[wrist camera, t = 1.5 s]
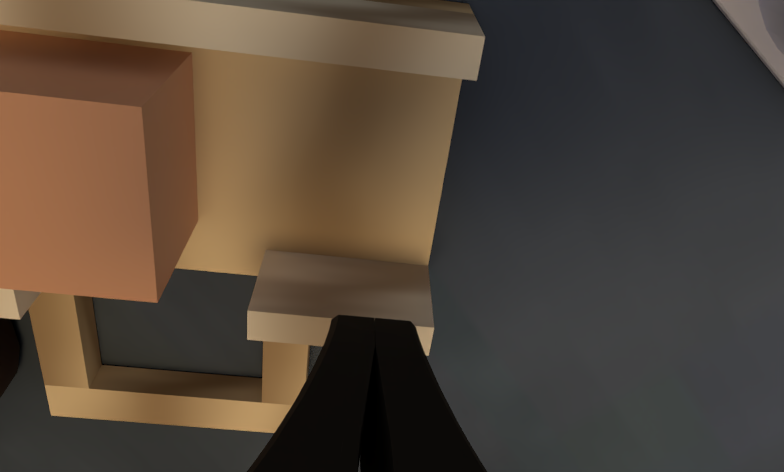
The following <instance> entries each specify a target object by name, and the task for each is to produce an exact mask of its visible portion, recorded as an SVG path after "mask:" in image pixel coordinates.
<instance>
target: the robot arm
mask: <svg viewBox="0 0 784 472" xmlns="http://www.w3.org/2000/svg"><path fill="white" fill-rule="evenodd" d="M712 1H713V2H714V3H715V4H716V6H717V7H718V8H719V9H720V11H721V12H722V13H723V14H724V15H725V17H726V18H727V19H728V20H729V22H730V23H731V24H732V25H733V26H734V28H735V29H736V30H737V31H738V33H739V34H740V35H741V36H742V37H743V39H744V40H745V41H746V42H747V44H748V45H749V46H750V47H751V48H752V50H753V51H754V52H755V53H756V55H757V56H758V57H759V58H760V59H761V61H762V62H763V63H764V64H765V66H766V67H767V68H768V69H769V70H770V72H771V73H772V74H773V75H774V77H775V78H776V79H777V80H778V81H779V83H780V84H781V85H782V86H783V88H784V0H712ZM359 460H360V470H361V472H487V471H486V469H485V468H484V466H483V465H482V463H481V461H480V460H479V458H478V456H477V455H476V453H475V451H474V450H473V448H472V446H471V445H470V443H469V441H468V440H467V438H466V436H465V434H464V433H463V431H462V429H461V427H460V425H459V424H458V422H457V420H456V418H455V416H454V414H453V412H452V410H451V408H450V406H449V404H448V403H447V401H446V399H445V397H444V395H443V393H442V391H441V389H440V387H439V384H438V382H437V380H436V378H435V376H434V374H433V371H432V369H431V367H430V364H429V362H428V360H427V357H426V355H425V352H424V350H423V347H422V345H421V342H420V339H419V336H418V333H417V329H416V327H415V326H414V324H413V323H412V322H411V321H406V320H395V319H383V318H375V320H374V318H372V317H361V316H349V315H337V316H336V317H334V318H333V319H331V324H330V328H329V331H328V334H327V337H326V340H325V342H324V345H323V347H322V350H321V352H320V354H319V356H318V358H317V361H316V363H315V365H314V367H313V369H312V371H311V373H310V374H309V376H308V378H307V380H306V382H305V384H304V385H303V387H302V389H301V391H300V393H299V395H298V396H297V398H296V400H295V402H294V403H293V405H292V407H291V408H290V410H289V411H288V413H287V414H286V416H285V417H284V419H283V421H282V422H281V424H280V425H279V427H278V428H277V430H276V431H275V433H274V434H273V436H272V438H271V439H270V441H269V442H268V444H267V445H266V446H265V448H264V449H263V451H262V452H261V453H260V455H259V456H258V458H257V459H256V460H255V462H254V463H253V464H252V466H251V467H250V468H249V470H248V471H247V472H358V466H359Z"/></svg>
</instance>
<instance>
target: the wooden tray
mask: <svg viewBox="0 0 784 472" xmlns="http://www.w3.org/2000/svg"><path fill="white" fill-rule="evenodd" d="M0 30H5V31H14V32H22V33H31V34H39V35H48V36H56V37H65V38H73V39H82V40H90V41H99V42H107V43H116V44H124V45H133V46H141V47H149V48H158V49H166V50H175V51H183V52H192V66H193V93H194V119H195V146H196V172H197V199H198V222H197V224H196V226H195V228H194V230H193V232H192V234H191V236H190V238H189V240H188V242H187V244H186V246H185V248H184V250H183V252H182V255H181V257H180V259H179V261H178V263H177V265H176V267H175V268H180V269H190V270H201V271H211V272H222V273H233V274H243V275H254V276H258V277H257V280H256V284H255V287H254V290H253V294H252V297H251V301H250V304H249V307H248V311H247V340H257V341H263V372H262V378H251V377H239V376H227V375H215V374H203V373H191V372H179V371H168V370H156V369H144V368H132V367H120V366H108V365H102V363H101V356H100V349H99V343H98V336H97V329H96V322H95V315H94V308H93V302H92V297H89V296H78V295H67V294H56V293H45V292H34V291H23V290H12V289H1V288H0V318H7V319H19V320H20V319H21V318H22V316H23V315H24V314H25V313H26V311H27V310H28V309H29V313H30V318H31V323H32V327H33V332H34V337H35V342H36V346H37V351H38V356H39V360H40V365H41V370H42V375H43V379H44V384H45V389H46V394H47V398H48V403H49V408H50V412H51V416H64V417H77V418H90V419H102V420H115V421H128V422H141V423H153V424H166V425H179V426H192V427H204V428H217V429H230V430H242V431H255V432H268V433H275V431H276V430H277V428H278V427H279V425H280V424H281V422H282V421H283V419H284V417H285V416H286V414H287V413H288V411H289V410H290V408H291V407H292V405H293V403H294V402H295V400H296V398H297V396H298V395H299V393H300V391H301V389H302V387H303V385H304V384H305V382H306V380H307V378H308V368H309V355H310V345H314V346H323V345H324V342H325V340H326V337H327V334H328V331H329V328H330V324H331V319H333V318H334V317H336V316H337V315H349V316H361V317H372V318H374V320H375V318H383V319H395V320H406V321H411V322H412V323H413V324H414V326H415V327H416V329H417V333H418V336H419V339H420V342H421V345H422V347H423V350H424V352H425V355H427V356H429V351H430V346H431V341H432V336H433V331H434V321H433V311H432V301H431V290H430V280H429V270H428V263H429V258H430V252H431V247H432V241H433V236H434V230H435V225H436V219H437V214H438V208H439V203H440V197H441V192H442V186H443V181H444V175H445V170H446V164H447V159H448V153H449V148H450V142H451V137H452V131H453V126H454V120H455V115H456V109H457V104H458V98H459V93H460V87H461V82H462V79H465V80H474V81H477V77H478V72H479V67H480V61H481V56H482V51H483V46H484V41H485V35H484V33H483V31H482V29H481V27H480V25H479V23H478V21H477V19H476V17H475V15H474V13H473V11H472V9H471V7H470V5H469V4H467V3H459V2H451V1H443V0H0Z"/></svg>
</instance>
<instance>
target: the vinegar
mask: <svg viewBox="0 0 784 472" xmlns="http://www.w3.org/2000/svg"><path fill="white" fill-rule="evenodd" d="M19 352H20V344H19V341H18V339H17V336H16V333H15V330H14V327H13V324H12V322H11V321H10V319H7V318H0V397H1V396H2V394H3V393H4V391H5V390H6V389H7V387H8V385H9V384H10V382H11V381H12V379H13V377H14V376H15V374H16V373H17V370H18V365H19Z"/></svg>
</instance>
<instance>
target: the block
mask: <svg viewBox="0 0 784 472" xmlns="http://www.w3.org/2000/svg"><path fill="white" fill-rule="evenodd" d="M197 222H198V199H197V172H196V146H195V119H194V93H193V66H192V52H183V51H175V50H166V49H158V48H149V47H141V46H133V45H124V44H116V43H107V42H99V41H90V40H82V39H73V38H65V37H56V36H48V35H39V34H31V33H22V32H14V31H5V30H0V288H1V289H12V290H23V291H34V292H45V293H56V294H67V295H78V296H89V297H100V298H111V299H122V300H133V301H144V302H155V303H158V301H159V299H160V297H161V295H162V293H163V291H164V289H165V287H166V285H167V283H168V281H169V279H170V277H171V275H172V273H173V271H174V269H175V267H176V265H177V263H178V261H179V259H180V257H181V255H182V252H183V250H184V248H185V246H186V244H187V242H188V240H189V238H190V236H191V234H192V232H193V230H194V228H195V226H196V224H197Z"/></svg>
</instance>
